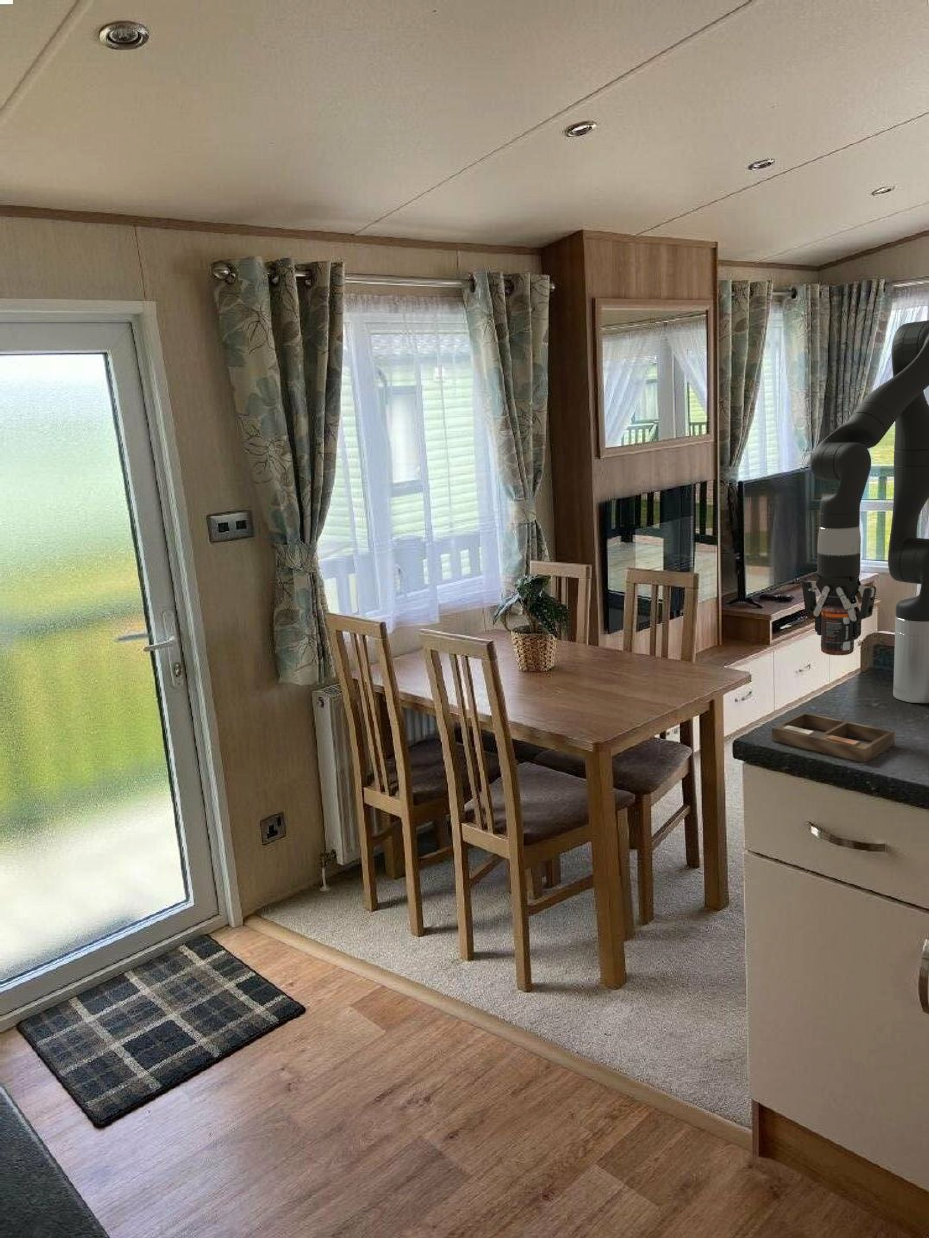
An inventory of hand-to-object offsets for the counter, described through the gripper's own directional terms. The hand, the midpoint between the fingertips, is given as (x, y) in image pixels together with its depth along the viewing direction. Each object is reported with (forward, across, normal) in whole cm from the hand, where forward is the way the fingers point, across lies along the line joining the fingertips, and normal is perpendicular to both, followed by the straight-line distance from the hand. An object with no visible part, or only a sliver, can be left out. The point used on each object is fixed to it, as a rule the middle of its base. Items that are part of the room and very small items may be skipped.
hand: (837, 636), depth 182 cm
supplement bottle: (+3, 0, 0) cm, 3 cm away
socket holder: (+18, -4, +9) cm, 20 cm away
